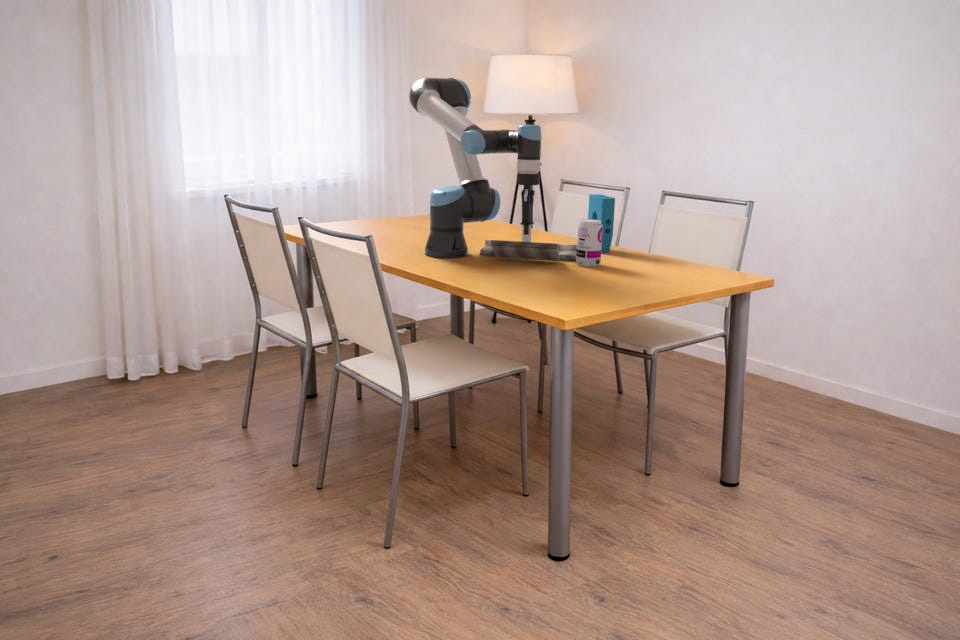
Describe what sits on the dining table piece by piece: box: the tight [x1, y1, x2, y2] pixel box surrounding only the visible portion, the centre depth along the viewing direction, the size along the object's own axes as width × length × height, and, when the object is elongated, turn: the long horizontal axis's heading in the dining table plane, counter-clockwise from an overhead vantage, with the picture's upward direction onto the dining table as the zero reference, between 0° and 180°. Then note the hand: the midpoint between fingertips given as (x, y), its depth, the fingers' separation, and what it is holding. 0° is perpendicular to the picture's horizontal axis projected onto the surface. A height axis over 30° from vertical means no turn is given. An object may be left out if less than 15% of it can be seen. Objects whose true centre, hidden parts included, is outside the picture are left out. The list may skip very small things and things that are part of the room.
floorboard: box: [479, 239, 577, 263], centre depth 303 cm, size 36×11×4 cm, turn 79°
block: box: [587, 193, 616, 254], centre depth 315 cm, size 12×5×20 cm, turn 20°
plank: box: [490, 239, 560, 262], centre depth 291 cm, size 22×12×2 cm, turn 79°
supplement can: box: [575, 218, 603, 268], centre depth 289 cm, size 8×8×15 cm
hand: (526, 243), depth 289 cm, fingers closed
